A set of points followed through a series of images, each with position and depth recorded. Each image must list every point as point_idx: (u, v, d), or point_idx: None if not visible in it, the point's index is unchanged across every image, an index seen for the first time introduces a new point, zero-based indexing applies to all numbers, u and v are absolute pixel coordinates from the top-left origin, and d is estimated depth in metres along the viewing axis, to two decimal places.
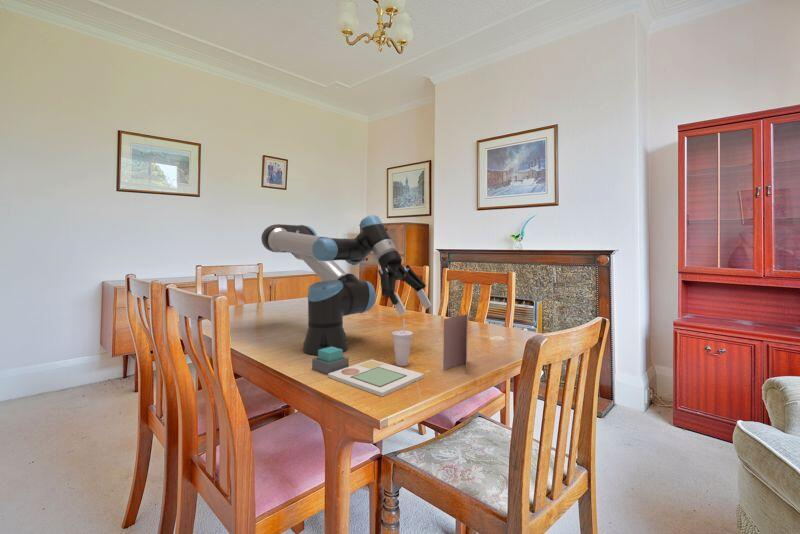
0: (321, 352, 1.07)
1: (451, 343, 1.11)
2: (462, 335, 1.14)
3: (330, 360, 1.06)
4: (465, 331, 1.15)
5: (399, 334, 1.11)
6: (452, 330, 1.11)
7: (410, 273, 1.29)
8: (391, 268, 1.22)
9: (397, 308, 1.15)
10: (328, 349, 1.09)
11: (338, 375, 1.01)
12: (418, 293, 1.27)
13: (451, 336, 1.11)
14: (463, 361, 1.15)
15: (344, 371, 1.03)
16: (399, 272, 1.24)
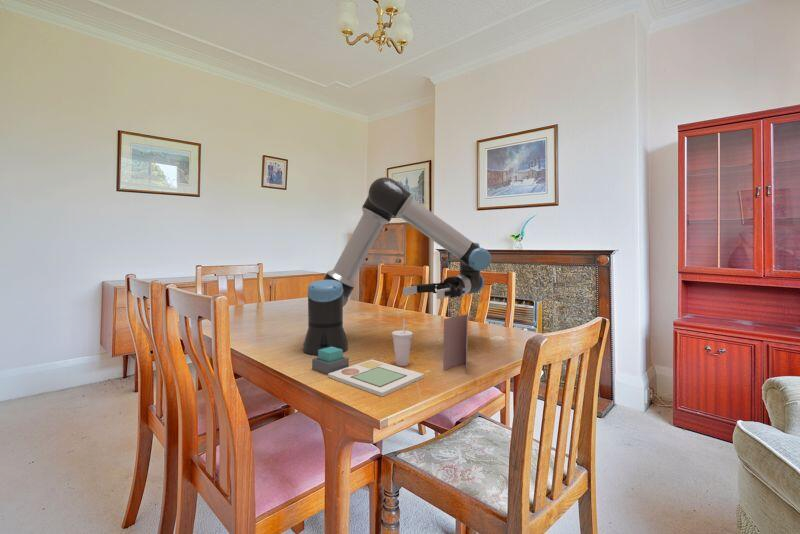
0: (321, 352, 1.07)
1: (451, 343, 1.11)
2: (463, 335, 1.14)
3: (330, 360, 1.06)
4: (465, 331, 1.15)
5: (399, 334, 1.11)
6: (452, 330, 1.11)
7: None
8: None
9: (442, 291, 1.16)
10: (328, 349, 1.09)
11: (338, 375, 1.01)
12: (415, 288, 1.28)
13: (451, 336, 1.11)
14: (463, 361, 1.15)
15: (344, 371, 1.03)
16: None
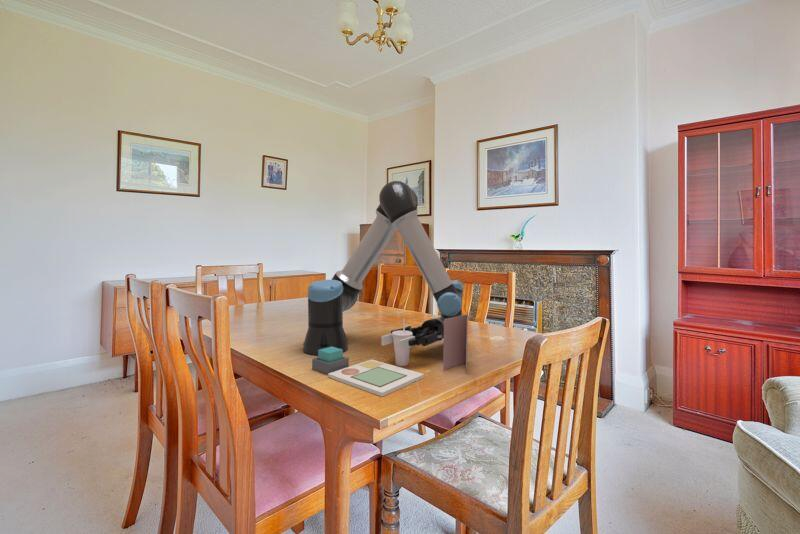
0: (321, 352, 1.07)
1: (451, 343, 1.11)
2: (463, 335, 1.14)
3: (330, 360, 1.06)
4: (465, 331, 1.15)
5: (399, 334, 1.11)
6: (452, 330, 1.11)
7: None
8: None
9: (405, 341, 1.08)
10: (328, 349, 1.09)
11: (338, 375, 1.01)
12: None
13: (451, 336, 1.11)
14: (463, 361, 1.15)
15: (344, 371, 1.03)
16: None
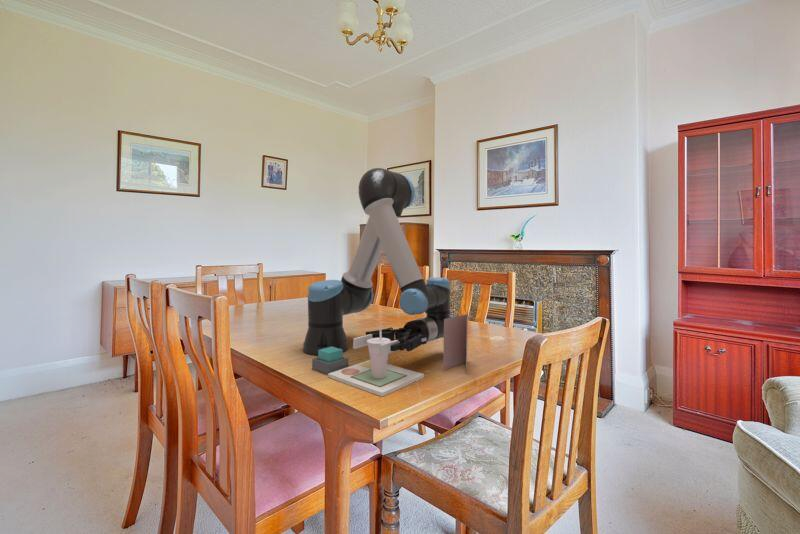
0: (321, 352, 1.07)
1: (451, 343, 1.11)
2: (463, 335, 1.14)
3: (330, 360, 1.06)
4: (465, 331, 1.15)
5: (375, 342, 0.98)
6: (452, 330, 1.11)
7: None
8: None
9: (387, 346, 0.94)
10: (328, 349, 1.09)
11: (338, 375, 1.01)
12: (370, 337, 1.03)
13: (451, 336, 1.11)
14: (463, 361, 1.15)
15: (344, 371, 1.03)
16: None
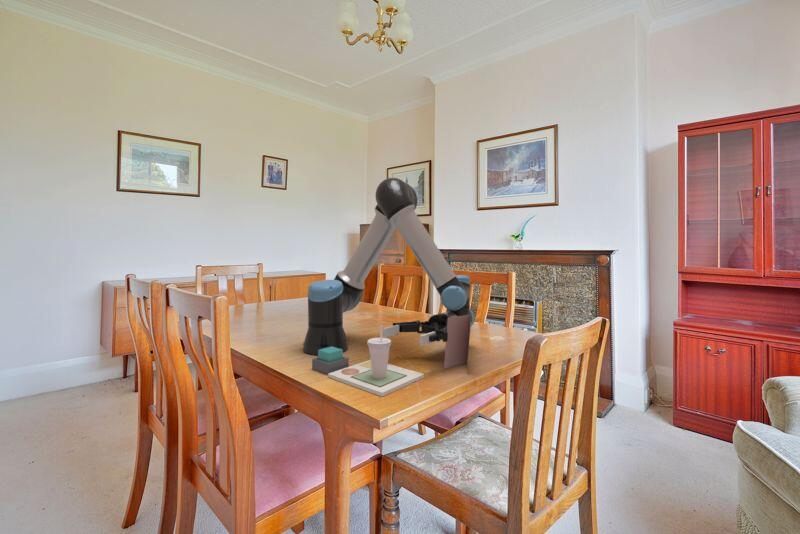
0: (321, 352, 1.07)
1: (453, 342, 1.10)
2: (465, 335, 1.14)
3: (330, 360, 1.06)
4: (467, 331, 1.15)
5: (375, 342, 0.97)
6: (455, 329, 1.10)
7: None
8: None
9: (426, 337, 1.04)
10: (328, 349, 1.09)
11: (338, 375, 1.01)
12: (397, 327, 1.15)
13: (454, 336, 1.11)
14: (463, 360, 1.15)
15: (344, 371, 1.03)
16: None
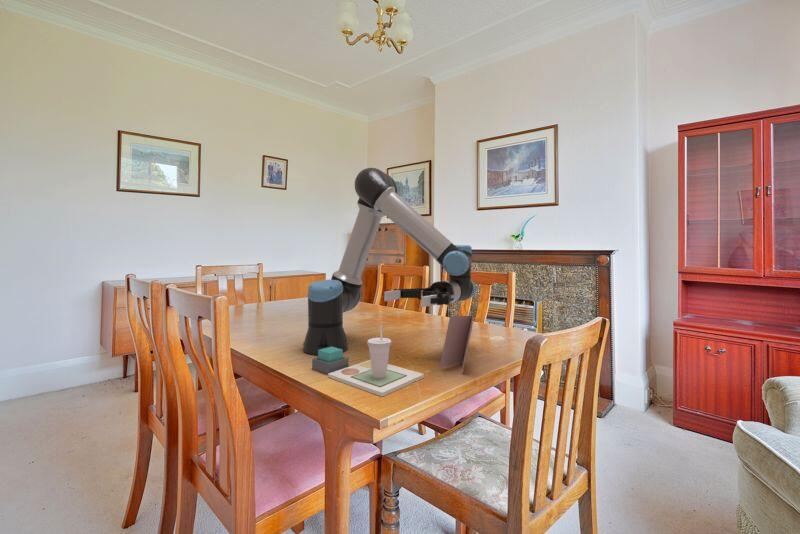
0: (321, 352, 1.07)
1: (452, 341, 1.10)
2: (463, 336, 1.14)
3: (330, 360, 1.06)
4: (466, 332, 1.14)
5: (375, 342, 0.98)
6: (455, 329, 1.10)
7: None
8: None
9: (427, 298, 1.03)
10: (328, 349, 1.09)
11: (338, 375, 1.01)
12: (399, 292, 1.15)
13: (453, 335, 1.10)
14: (459, 360, 1.15)
15: (344, 371, 1.03)
16: None
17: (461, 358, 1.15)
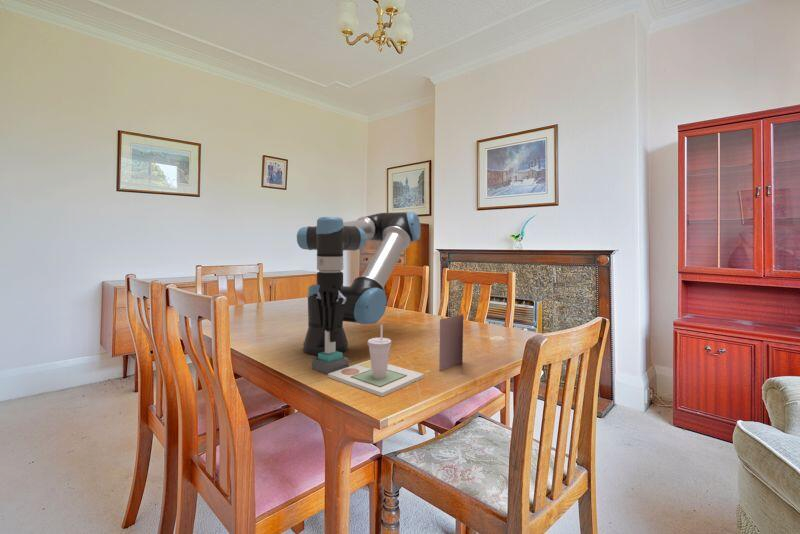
0: (321, 355, 1.07)
1: (447, 343, 1.10)
2: (458, 336, 1.14)
3: None
4: (460, 331, 1.15)
5: (375, 342, 0.97)
6: (448, 330, 1.10)
7: None
8: (320, 290, 1.09)
9: None
10: None
11: (338, 375, 1.01)
12: None
13: (447, 337, 1.10)
14: (458, 361, 1.15)
15: (344, 371, 1.03)
16: (327, 297, 1.07)
17: (460, 358, 1.15)
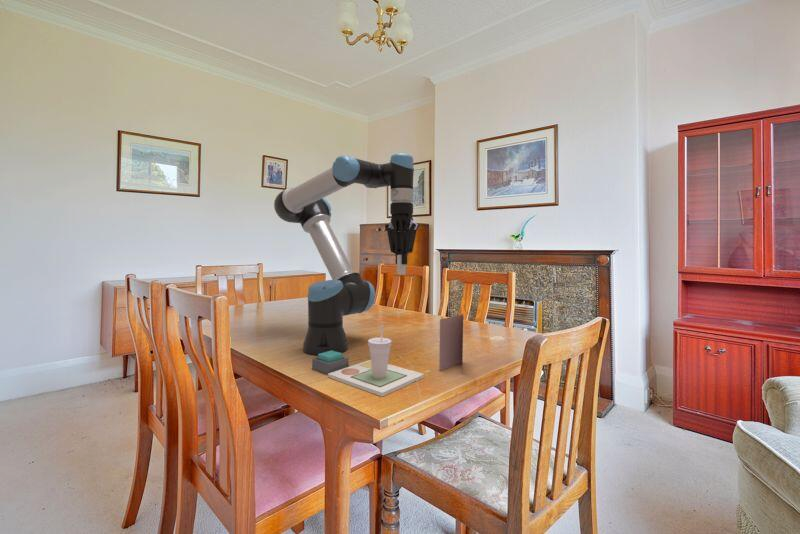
0: (321, 356, 1.07)
1: (447, 343, 1.10)
2: (458, 336, 1.14)
3: None
4: (460, 331, 1.15)
5: (375, 342, 0.97)
6: (448, 330, 1.10)
7: None
8: (393, 220, 1.24)
9: None
10: (328, 353, 1.09)
11: (338, 375, 1.01)
12: None
13: (447, 337, 1.10)
14: (458, 361, 1.15)
15: (344, 371, 1.03)
16: (399, 225, 1.22)
17: (460, 358, 1.15)
